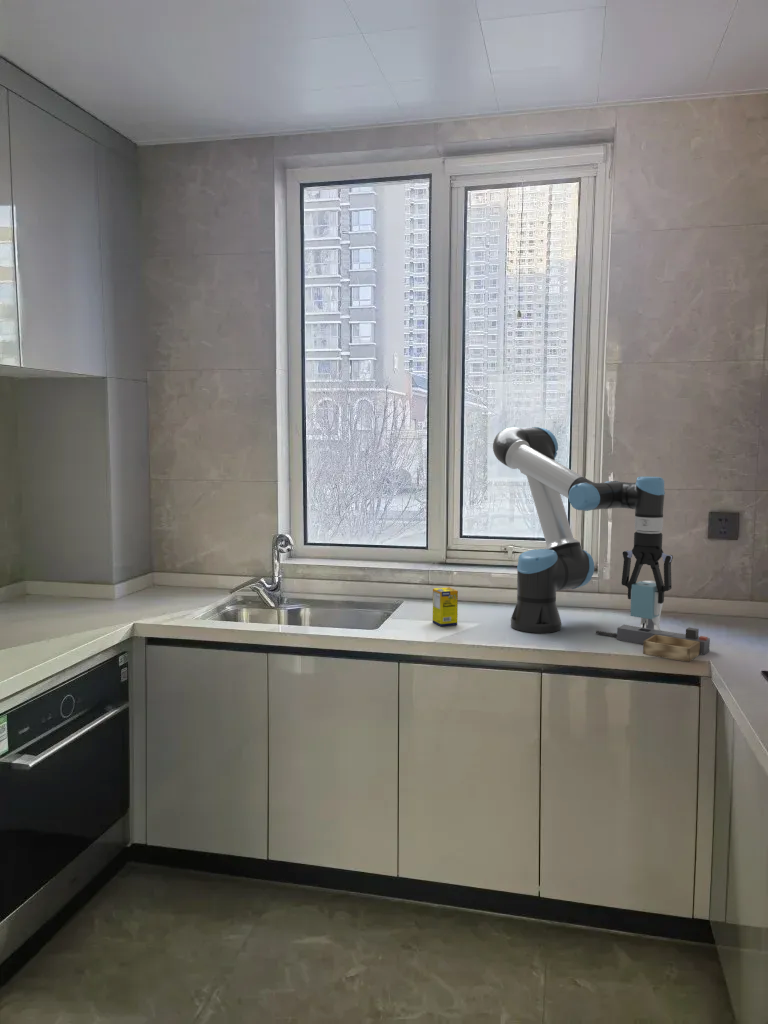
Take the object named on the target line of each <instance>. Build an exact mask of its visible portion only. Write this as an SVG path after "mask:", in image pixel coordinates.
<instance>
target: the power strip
mask: <svg viewBox="0 0 768 1024" xmlns="http://www.w3.org/2000/svg"><path fill="white" fill-rule="evenodd" d="M699 631H700V629H699V628H695V627H690V626H688V627H687V628H685V633H680V632H674V631H667V630H661V629H660V630H655V629H648V628H642V627H640V626H634V625H629V624H623V625H621V626H618V627H617V630H616V632H617V633H613V632H609V631H602V630H595V634H596V635H602V636H606V637H607V636H608V637H613V638H616V641H622V642H628V643H632V644H633V643H634V644H639V645H643V643H644V641H645V640H646V639H648V638H650V637H652V636H653V635H662V636H668V637H674V638H680V639H686V640H692V641H699V642H700V654H699V655H704V656H705V654H707V653H709V651H710V646H711V645H710V644H711V643H710V641H711V639H710V637H708V636H705V635H704V636H703V635H700V636H699Z"/></svg>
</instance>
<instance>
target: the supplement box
mask: <svg viewBox="0 0 768 1024" xmlns="http://www.w3.org/2000/svg"><path fill="white" fill-rule="evenodd" d="M458 591H459V590H457V589H454V588H452V587H434V588H432V623H433V624H435V625H437V626H439V627H450V626H458V615H459V613H458V610H459V609H458V608H459V607H458V605H459V604H458V599H459V594H458V593H459V592H458Z"/></svg>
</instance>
